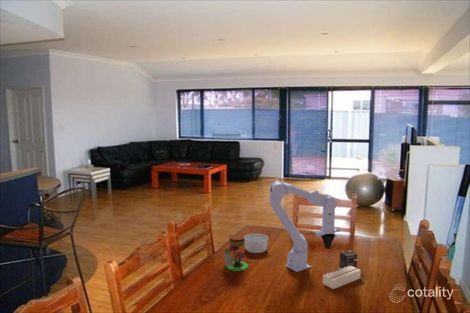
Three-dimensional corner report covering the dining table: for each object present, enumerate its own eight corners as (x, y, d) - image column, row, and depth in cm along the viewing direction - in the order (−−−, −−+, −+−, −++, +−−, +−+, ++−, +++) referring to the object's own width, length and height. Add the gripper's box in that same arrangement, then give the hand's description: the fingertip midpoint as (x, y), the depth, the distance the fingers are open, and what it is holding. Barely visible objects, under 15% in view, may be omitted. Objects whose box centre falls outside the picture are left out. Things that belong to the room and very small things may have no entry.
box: (346, 270, 181) (346, 256, 180) (338, 265, 187) (339, 251, 186) (357, 269, 183) (357, 254, 182) (349, 264, 189) (350, 249, 188)
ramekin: (261, 256, 199) (261, 243, 198) (239, 251, 206) (239, 238, 205) (272, 248, 210) (272, 235, 210) (251, 243, 217) (251, 231, 216)
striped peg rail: (333, 289, 163) (333, 279, 162) (322, 283, 168) (323, 274, 167) (360, 278, 173) (360, 269, 172) (349, 273, 178) (350, 265, 177)
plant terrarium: (243, 259, 195) (243, 231, 193) (252, 269, 183) (252, 239, 181) (221, 263, 191) (220, 234, 189) (229, 273, 179) (229, 242, 177)
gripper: (323, 225, 175) (322, 254, 177) (345, 220, 183) (344, 247, 185) (312, 222, 181) (311, 249, 183) (334, 217, 189) (333, 243, 191)
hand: (327, 248), depth 184 cm, fingers closed
